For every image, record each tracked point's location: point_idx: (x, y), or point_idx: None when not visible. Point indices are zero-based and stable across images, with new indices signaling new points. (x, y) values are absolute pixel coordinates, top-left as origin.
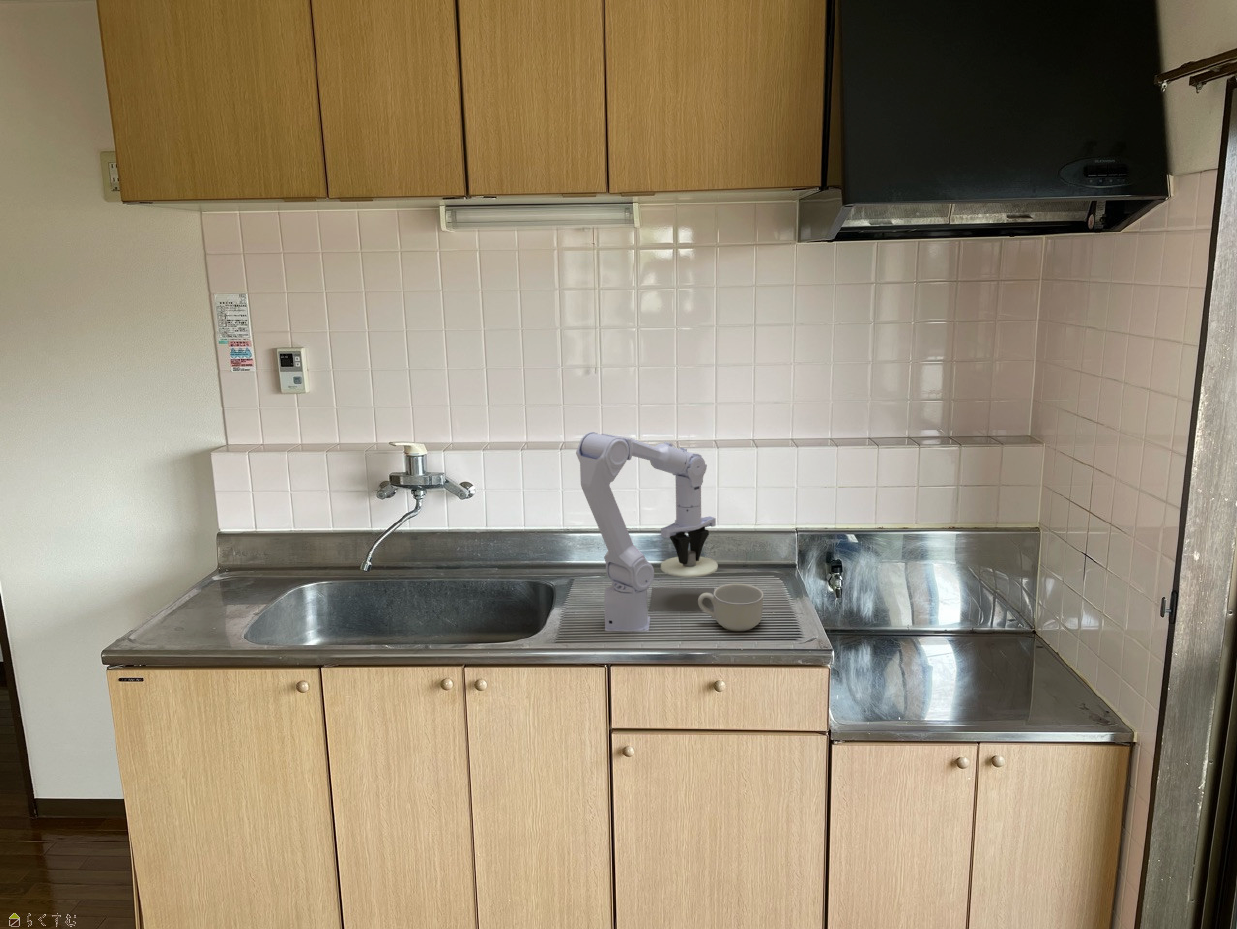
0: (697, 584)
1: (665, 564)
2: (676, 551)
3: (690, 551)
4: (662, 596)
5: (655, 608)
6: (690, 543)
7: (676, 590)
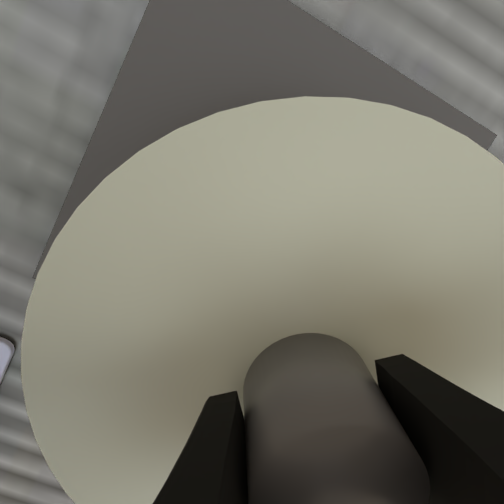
0: (465, 6)
1: (95, 274)
2: (158, 499)
3: (381, 476)
4: (176, 119)
5: None
6: (494, 486)
7: (293, 67)
